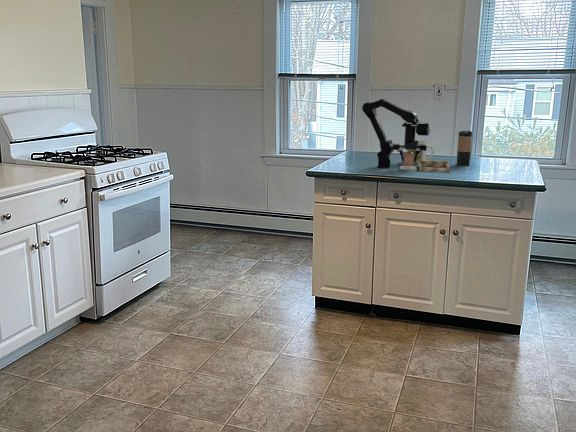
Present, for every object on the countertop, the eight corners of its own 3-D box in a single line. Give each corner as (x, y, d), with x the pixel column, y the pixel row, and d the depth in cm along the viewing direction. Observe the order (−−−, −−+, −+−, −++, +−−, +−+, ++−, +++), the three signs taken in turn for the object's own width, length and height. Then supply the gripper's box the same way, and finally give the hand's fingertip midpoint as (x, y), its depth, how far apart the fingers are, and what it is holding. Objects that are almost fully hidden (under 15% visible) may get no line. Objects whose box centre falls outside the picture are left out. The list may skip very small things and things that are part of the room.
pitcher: (433, 165, 335) (435, 142, 332) (402, 164, 338) (403, 141, 334) (432, 162, 346) (433, 139, 342) (402, 161, 348) (403, 139, 345)
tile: (400, 170, 319) (400, 168, 319) (400, 167, 328) (400, 165, 328) (416, 170, 318) (416, 169, 318) (416, 168, 326) (416, 166, 326)
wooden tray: (419, 172, 314) (419, 165, 313) (418, 167, 330) (418, 160, 329) (449, 173, 311) (450, 165, 310) (447, 167, 327) (447, 161, 326)
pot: (402, 165, 320) (403, 150, 317) (402, 163, 326) (403, 148, 324) (414, 165, 318) (415, 150, 316) (414, 163, 325) (415, 148, 323)
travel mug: (470, 166, 330) (473, 132, 325) (456, 166, 332) (459, 132, 326) (468, 164, 337) (471, 131, 332) (455, 164, 339) (458, 130, 334)
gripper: (393, 136, 312) (391, 164, 316) (427, 136, 309) (426, 165, 313) (393, 133, 322) (391, 161, 326) (426, 134, 319) (425, 161, 323)
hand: (408, 162), depth 322 cm, fingers closed on pot, 6 cm apart
